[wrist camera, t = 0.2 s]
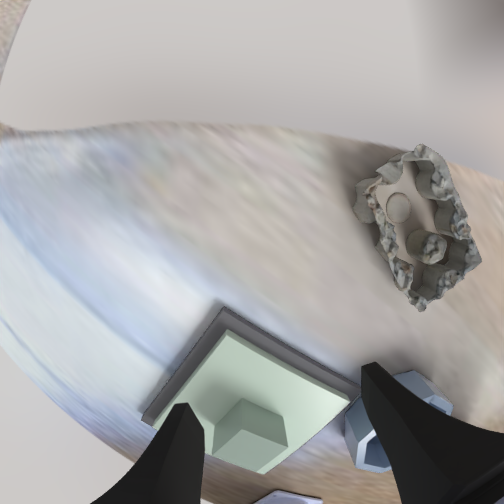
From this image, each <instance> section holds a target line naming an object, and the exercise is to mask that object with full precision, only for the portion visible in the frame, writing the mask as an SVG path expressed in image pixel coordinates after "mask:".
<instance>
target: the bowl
mask: <svg viewBox="0 0 504 504" xmlns="http://www.w3.org/2000/svg"><path fill="white" fill-rule="evenodd" d="M392 377H394V378H395V379H396V380H397V381H398V382H400V383H401V384H402V385H403V386H405V387H406V388H407V389H408V390H410V391H411V392H412V393H414V394H415V395H416V396H418V397H419V398H421V399H422V400H424V401H425V402H427V403H428V404H430V405H431V406H433V407H435V408H436V409H438V410H440V411H442V412H444V413H445V414H447V415H449V416H451V413H452V410H453V406H454V405H453V404H452V403H451V402H450V401H449V400H448V399H447V397H446V396H445V395H444V394H443V393H442V392H441V391H440V390H439V388H438V387H437V386H436V385H435V384H434V383H433V382H431V381H430V380H428V379H427V378H426V377H424V376H423V375H421V374H419V373H418V372H416V371H415V370H413V371H410V372H405V373H400V374H396V375H393V376H392ZM344 428H345V442H346V444H347V447H348V449H349V452H350V455H351V457H352V460H353V463H354V465H355V468H359V469H363V470H368V471H372V472H377V473H382V472H385V471H388V470H391V469H392V468H391V465H390V462H389V460H388V457H387V455H386V453H385V451H384V449H383V447H382V445H381V443H380V441H379V439H378V437H377V435H376V433H375V431H374V428H373V426H372V424H371V422H370V420H369V418H368V416H367V413H366V410H365V407H364V404H363V401H362V398H361V396H360V397H359V398H358V399H357V400H356V401H355V403H354V404H353V405H352V407H351V408H350V409H349V410H348V411H347V412H346V413H345V424H344Z"/></svg>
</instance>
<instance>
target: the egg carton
mask: <svg viewBox="0 0 504 504" xmlns="http://www.w3.org/2000/svg"><path fill="white" fill-rule="evenodd" d="M403 161H406V162H410V161H415V162H416V164H417V165H418V167H419V169H420V172H419V173H418V174H417V177H416V188H417V191H418V193H419V194H420V195H421V196H422V197H424V198H427V199H435V200H436V202H437V204H438V206H439V208H438V210H437V211H436V214H435V218H434V223H435V227H436V229H437V231H438V232H439V233H441V234H445V235H449V236H452V238H453V243H452V244H451V246H450V249H449V260H448V262H447V263H445V264H444V265H440V264H437V263H436V262H438V261H440V260H442V259H443V256H444V253H445V251H446V247H447V241H446V240H445V239H444V238H443V237H441V236H440V235H438V234H436V233H432V232H428V231H425V230H418V229H417V230H415V231H413V232H412V233H411V234H410V235H409V236H408V238H407V242H406V249H407V252H408V254H409V255H410V256H411V257H412V258H414V259H417V260H419V261H421V262H423V263H425V264H429V265H428V266H427V267H426V269H425V270H424V272H423V276H422V282H423V286H422V287H421V288H419V289H418V290H417V291H416V292H415V291H413V290H411V289H410V286H411V283H412V281H413V271H414V267H413V266H412V264H409V263H407V262H405V261H403V260H401V259H399V258H396V257H395V255H396V253H397V250H398V247H399V246H398V245H397V244H396V243H395V241H396V233H395V232H394V230H393V229H394V227H395V226H393V225H392V224H391V223H389V222H387V221H386V217H385V214H384V212H383V210H382V208H381V206H380V204H379V203H378V201H377V198H376V195H375V191H376V189H377V186H378V185H391V184H395V183H396V182H398V181H399V179H400V177H401V175H402V173H403V164H402V162H403ZM387 162H388V163H387V164H385V165H383V166H382V167H380V168H378V169H377V170H376V171H375V172H377V173H378V174H379V175H378V176H377V177H376V178H367V179H363V180H362V181H360V182H359V183H357V184H356V185H355V189H356V193H357V200H356V203H355V205H354V206H353V211H354V214H355V215H356V217H357V218H358V220H360V222H361V223H363V222H366V223H374V222H375V223H376V224H377V225H378V227H379V229H380V238H379V241H378V243H377V245H376V246H375V248H376V250H377V251H378V252H379V253H380V254H381V256H382V257H383V258H384V259H385V261H388V262H389V264H390V267H391V270H392V273H393V275H394V277H395V278H396V279H395V280H394V282H395V285H396V287H397V288H398V289H399V290H400V291H404V293H405V295H406V296H407V297H408V299H409V302H410V304H412V305H414V306H415V307H416V308H417V309H418V311H419V312H422V311H424V310H425V309H426V305H427V304H429V303H430V302H431V301H433V300H435V299H440V298H442V297H443V295H444V293H445V292H446V291H448V290H449V289H451V288H453V287H454V286H455V285H456V284H457V283H458V282H460V281H461V280H463V279H464V276H465V274H466V273H467V272H469V271H471V270H473V269H474V268H475V267H477V266H478V265H479V264H480V263H481V262H482V259H481V256H480V254H479V252H478V249H477V246H476V244H475V241H474V239H473V238H472V236H471V234H470V231H471V228H470V226H469V225H468V224H467V219H468V215H467V213H466V211H465V209H464V208H463V205H462V203H461V200H460V197H459V194H458V192H457V191H456V189H455V187H454V184H453V181H452V178H451V175H450V171H449V168H448V165H447V163H446V162H445V160H444V159H443V157H442V156H440V155H439V154H438V153H437V152H435V151H433V150H432V149H430V148H429V147H427V146H425V145H423V144H420V145H418V146H416V148H415V150H414V151H409V152H408V153H402V154H397V155H395V156H394V157H392V158H391V159H389V160H388V161H387ZM386 212H387V215H388V217H389V218H390V220H392V221H393V222H395V223H403V222H405V221H406V220H407V219H408V217H409V216H410V213H411V205H410V201H409V199H408V197H407V196H406V195H404V194H401V193H394V194H393V195H391V196H390V197H389V199H388V201H387V204H386Z"/></svg>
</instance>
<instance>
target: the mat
mask: <svg viewBox="0 0 504 504" xmlns="http://www.w3.org/2000/svg"><path fill="white" fill-rule="evenodd" d="M227 329H229V330H230V331H232V332H234V333H235V334H237V335H238V336H240V337H242V338H243V339H245V340H247V341H248V342H250V343H252V344H254V345H255V346H257V347H259V348H260V349H262V350H264V351H266V352H267V353H269V354H271V355H273V356H274V357H276V358H278V359H280V360H281V361H283V362H285V363H287V364H289V365H290V366H292V367H294V368H296V369H298V370H300V371H301V372H303V373H305V374H307V375H309V376H311V377H313V378H315V379H316V380H318V381H320V382H322V383H324V384H326V385H328V386H330V387H332V388H334V389H336V390H338V391H340V392H342V393H344V394H346V395H347V396H348V398H349V400H350V403H351V402H352V401H353V400H354V399H355V398H356V397H357V396H358V395H359V394H360V393H361V387H360V386H359V385H357V384H355V383H354V382H352V381H350V380H348V379H346V378H344V377H342V376H341V375H339V374H337V373H335V372H333V371H331V370H330V369H328V368H326V367H324V366H322V365H321V364H319V363H317V362H315V361H314V360H312V359H310V358H308V357H307V356H305V355H303V354H301V353H300V352H298V351H296V350H294V349H293V348H291V347H289V346H288V345H286V344H284V343H283V342H281V341H279V340H278V339H276V338H274V337H273V336H271V335H269V334H268V333H266V332H264V331H263V330H261V329H259V328H258V327H256V326H255V325H253V324H251V323H250V322H248V321H246V320H245V319H243V318H242V317H240V316H238V315H237V314H235V313H234V312H232V311H231V310H229V309H227V308H226V307H223V308H222V310H221V311H220V312H219V314H218V315H217V316H216V318H215V319H214V320H213V322H212V323H211V325H210V326H209V327H208V329H207V330H206V331H205V333H204V334H203V335H202V337H201V338H200V339H199V341H198V342H197V343H196V345H195V346H194V347H193V349H192V350H191V352H190V353H189V354H188V356H187V357H186V358H185V360H184V361H183V362H182V364H181V365H180V366H179V368H178V369H177V370H176V372H175V373H174V374H173V376H172V377H171V378H170V380H169V381H168V382H167V384H166V385H165V386H164V388H163V389H162V390H161V392H160V393H159V394H158V396H157V397H156V398H155V400H154V401H153V402H152V404H151V405H150V406H149V408H148V409H147V410H146V412H145V413H144V414H143V416H142V419H141V421H143V422H145V423H147V424H149V425H150V426H152V427H153V424H154V421H155V419H156V418H157V417H158V416H159V414H160V413H161V412H162V411H163V410H164V408H165V407H166V406H167V405H168V403H169V402H170V401H171V400H172V398H173V397H174V396H175V395H176V393H177V392H178V391H179V390H180V388H181V387H182V386H183V385H184V383H185V382H186V381H187V380H188V378H189V377H190V376H191V375H192V373H193V372H194V371H195V370H196V368H197V367H198V366H199V364H200V363H201V362H202V361H203V359H204V358H205V357H206V356H207V354H208V353H209V352H210V350H211V349H212V348H213V347H214V345H215V344H216V343H217V341H218V340H219V339H220V338H221V336H222V335H223V334H224V332H225V331H226V330H227ZM350 403H349V404H350ZM349 404H348V405H349ZM348 405H347V406H348ZM347 406H346V407H347ZM346 407H345V408H346ZM345 408H344V409H345ZM344 409H343V410H344ZM343 410H342V411H343ZM337 415H338V414H337ZM337 415H336V416H337ZM336 416H335V417H336ZM335 417H334V418H335ZM334 418H333V419H334ZM333 419H332V420H333ZM332 420H331V421H332ZM331 421H330V422H331ZM330 422H329V423H330ZM325 426H326V425H325ZM325 426H324V427H325ZM324 427H323V428H324ZM323 428H322V429H323ZM322 429H321V430H322ZM321 430H320V431H321ZM317 433H318V432H317ZM317 433H316V434H317ZM316 434H315V435H316ZM315 435H314V436H315ZM314 436H313V437H314ZM310 439H311V438H310ZM310 439H309V440H310ZM309 440H308V441H309ZM308 441H307V442H308ZM304 444H305V443H304ZM304 444H303V445H304ZM303 445H302V446H303ZM302 446H301V447H302ZM298 449H299V448H298ZM298 449H297V450H298ZM297 450H296V451H297ZM293 453H294V452H293ZM293 453H292V454H293ZM292 454H291V455H292ZM289 456H290V455H289ZM289 456H288V457H289ZM288 457H287V458H288ZM284 460H285V459H284ZM284 460H283V461H284ZM280 463H281V462H280ZM280 463H279V464H280ZM276 466H277V465H276ZM276 466H275V467H276ZM273 468H274V467H273ZM273 468H272V469H273ZM272 469H271V470H272ZM269 471H270V470H269ZM269 471H268V472H269ZM265 474H266V473H265Z"/></svg>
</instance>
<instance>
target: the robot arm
mask: <svg viewBox="0 0 504 504" xmlns="http://www.w3.org/2000/svg"><path fill="white" fill-rule="evenodd" d="M361 398H362V401H363V404H364V407H365V410H366V413H367V416H368V418H369V420H370V422H371V424H372V426H373V428H374V431H375V433H376V435H377V437H378V439H379V441H380V443H381V445H382V447H383V449H384V451H385V453H386V455H387V457H388V460H389V462H390V465H391V468H392V471H393V474H394V477H395V480H396V484H397V487H398V491H399V494H400V498H401V502H402V504H504V433H499V432H494V431H489V430H486V429H482V428H479V427H476V426H473V425H471V424H468V423H465V422H463V421H460V420H458V419H456V418H454V417H451V416H449V415H447V414H445V413H444V412H442V411H440V410H438V409H436V408H435V407H433V406H431V405H430V404H428V403H427V402H425V401H424V400H422V399H421V398H419V397H418V396H416V395H415V394H414V393H412V392H411V391H410V390H408V389H407V388H406V387H405V386H403V385H402V384H401V383H400V382H398V381H397V380H396V379H395V378H394V377H392V376H391V375H390V374H389V373H388V372H387V371H386V370H385V369H383V368H382V367H381V366H380V365H379V364H378V363H377V362H373V363H370V364H367V365H364V366H361ZM204 455H205V433H204V428H203V427H202V425H201V423H200V422H199V420H198V418H197V417H196V415H195V413H194V412H193V410H192V408H191V407H190V405H189V403H188V402H186V403H176V404H174V405H173V407H172V409H171V410H170V412H169V414H168V415H167V417H166V419H165V420H164V422H163V424H162V425H161V427H160V429H159V430H158V432H157V433H156V435H155V437H154V438H153V440H152V441H151V443H150V444H149V446H148V447H147V448H146V450H145V451H144V453H143V454H142V455H141V457H140V458H139V459H138V461H137V462H136V463H135V464H134V465H133V467H132V468H131V469H130V470H129V471H128V472H127V473H126V475H124V476H123V477H122V478H121V480H119V481H118V482H117V483H116V484H115V485H114V486H113V487H112V488H111V489H109V490H108V491H107V492H106V493H104V494H103V495H102V496H101V497H99V498H98V499H97V500H95V501H93V502H92V503H90V504H200V496H201V484H202V474H203V465H204ZM321 503H323V500H322V499H317V498H312V497H306V496H301V495H297V494H292V493H288V492H284V491H280V490H276V491H274V492H272V493H271V494H269V495H267V496H266V497H264V498H262V499H261V500H259V501H257V502H255V503H254V504H321Z"/></svg>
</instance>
